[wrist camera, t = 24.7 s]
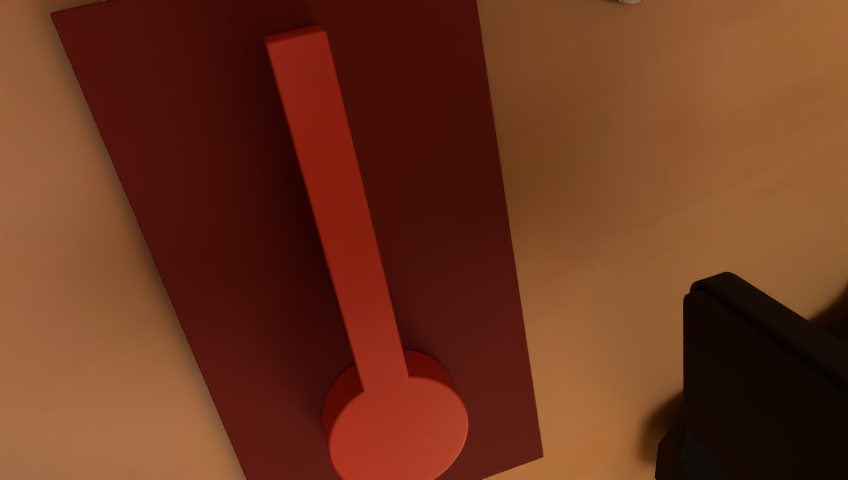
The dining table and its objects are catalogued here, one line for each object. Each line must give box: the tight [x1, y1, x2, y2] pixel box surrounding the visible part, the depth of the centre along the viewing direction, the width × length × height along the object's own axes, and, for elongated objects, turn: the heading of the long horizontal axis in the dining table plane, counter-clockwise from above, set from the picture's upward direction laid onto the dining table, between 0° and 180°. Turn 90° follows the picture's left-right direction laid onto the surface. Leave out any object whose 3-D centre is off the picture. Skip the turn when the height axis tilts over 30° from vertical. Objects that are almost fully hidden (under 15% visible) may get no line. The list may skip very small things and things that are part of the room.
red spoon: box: [263, 25, 468, 480], centre depth 18 cm, size 14×4×2 cm, turn 11°
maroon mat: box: [50, 0, 543, 480], centre depth 19 cm, size 18×10×1 cm, turn 11°
